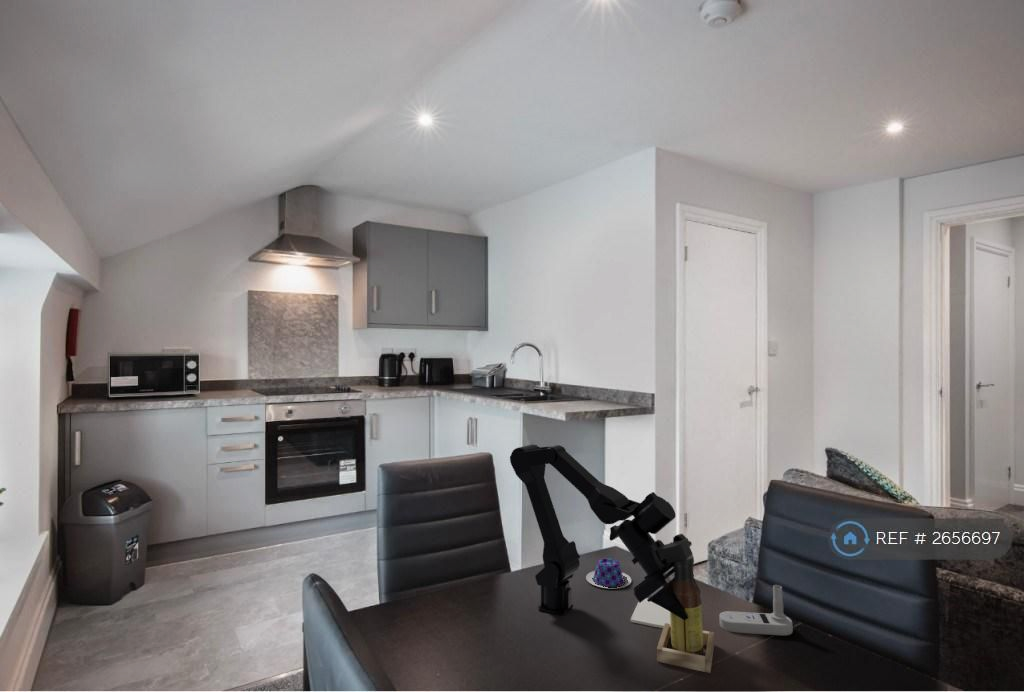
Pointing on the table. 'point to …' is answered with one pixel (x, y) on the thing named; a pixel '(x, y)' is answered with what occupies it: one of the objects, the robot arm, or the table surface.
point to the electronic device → (759, 619)
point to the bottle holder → (683, 657)
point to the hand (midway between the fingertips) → (692, 612)
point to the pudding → (607, 574)
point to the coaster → (650, 614)
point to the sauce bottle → (687, 610)
